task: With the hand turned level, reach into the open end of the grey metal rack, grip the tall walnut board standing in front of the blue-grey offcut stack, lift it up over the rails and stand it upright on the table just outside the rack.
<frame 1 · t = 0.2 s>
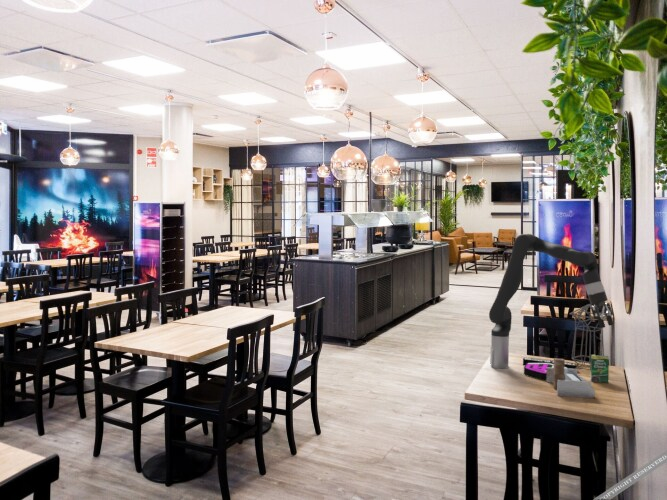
hand: (607, 326, 246), 31 cm above the table, tool tilted 20°, fingers open, 8 cm apart
walnut board: (558, 388, 251), on the table
offcut stack: (572, 389, 250), on the table
coffee box: (599, 382, 263), on the table
geometric lantern: (587, 368, 289), on the table
sign: (547, 373, 279), on the table
rack: (567, 389, 251), on the table
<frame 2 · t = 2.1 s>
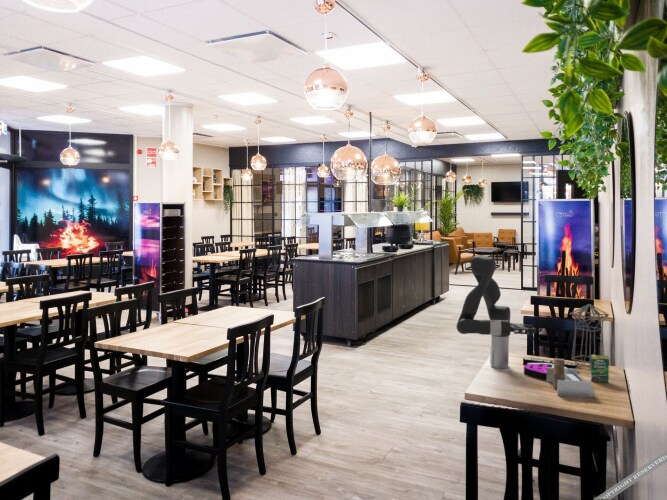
hand: (534, 329, 252), 28 cm above the table, tool horizontal, fingers open, 8 cm apart
nothing on the table moved.
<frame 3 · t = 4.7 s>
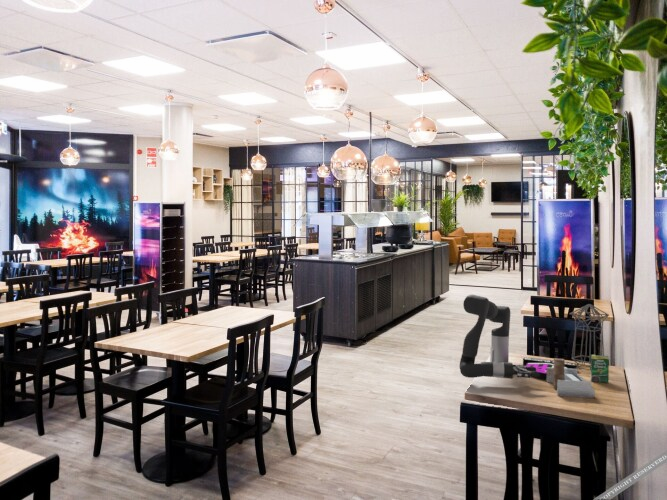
hand: (537, 371, 253), 8 cm above the table, tool horizontal, fingers open, 8 cm apart
nothing on the table moved.
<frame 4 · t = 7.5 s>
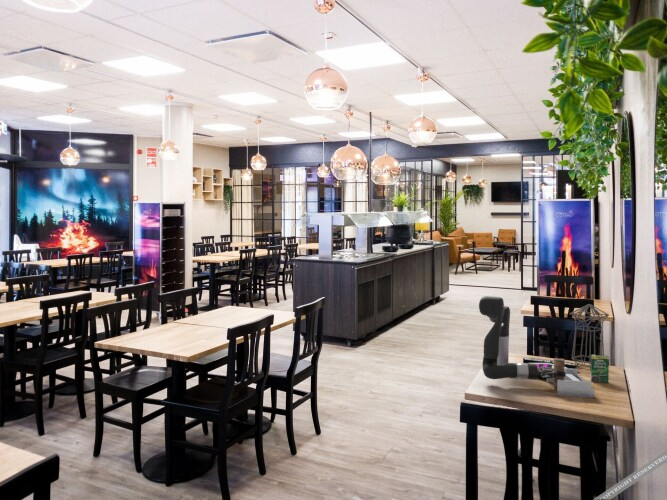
hand: (564, 373, 251), 8 cm above the table, tool horizontal, fingers closed on walnut board, 3 cm apart
walnut board: (558, 388, 251), on the table, touching gripper
everything else where it was.
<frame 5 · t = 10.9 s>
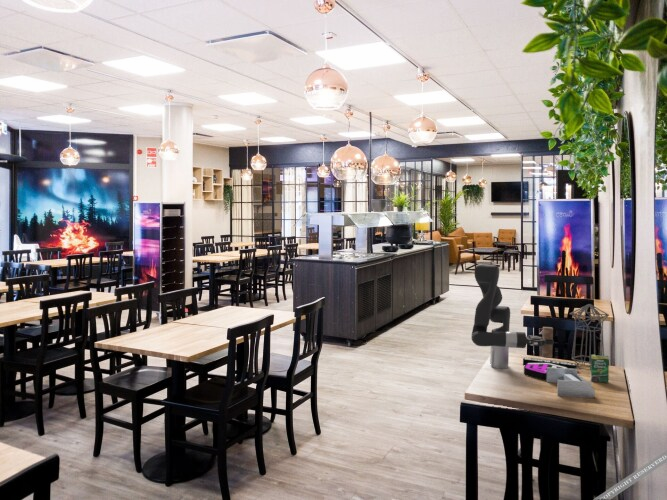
hand: (552, 341, 251), 22 cm above the table, tool horizontal, fingers closed on walnut board, 3 cm apart
walnut board: (546, 356, 252), point 15 cm above the table, touching gripper
everything else where it was.
when the fingers open (8 cm above the table, at t = 14.3 s): walnut board stays where it is, on the table.
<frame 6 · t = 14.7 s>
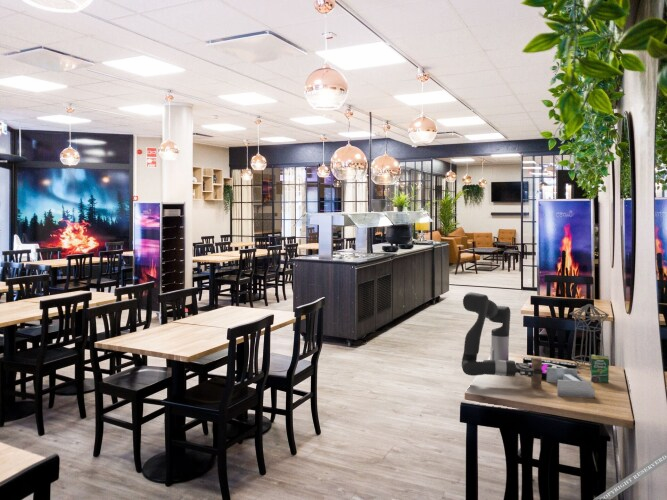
hand: (540, 369, 252), 9 cm above the table, tool horizontal, fingers open, 6 cm apart
walnut board: (536, 387, 253), on the table
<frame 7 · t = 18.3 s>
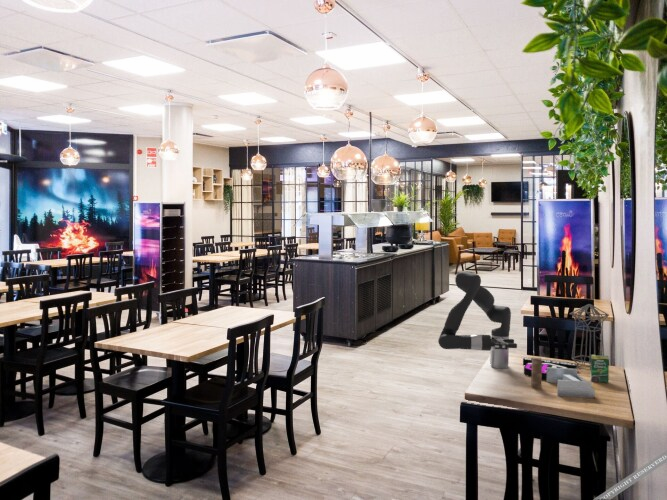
hand: (515, 343, 254), 21 cm above the table, tool horizontal, fingers open, 8 cm apart
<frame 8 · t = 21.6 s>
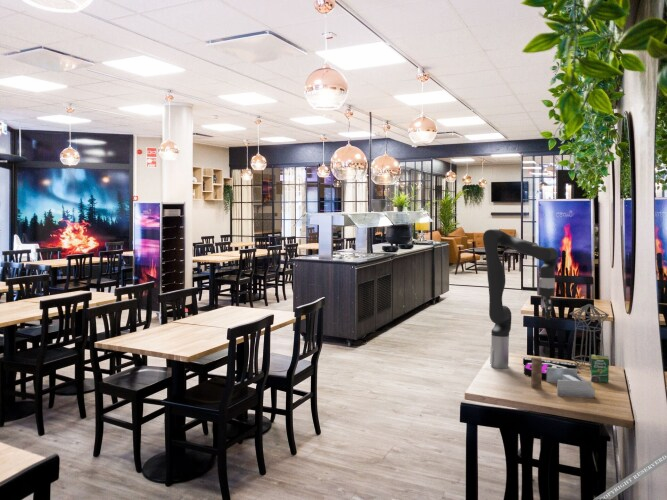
hand: (546, 318, 270), 30 cm above the table, tool pointing down, fingers open, 8 cm apart
at the end: walnut board inside the target area (0.4 cm from its centre), on the table; walnut board tilted 0°; the gripper is holding nothing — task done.
